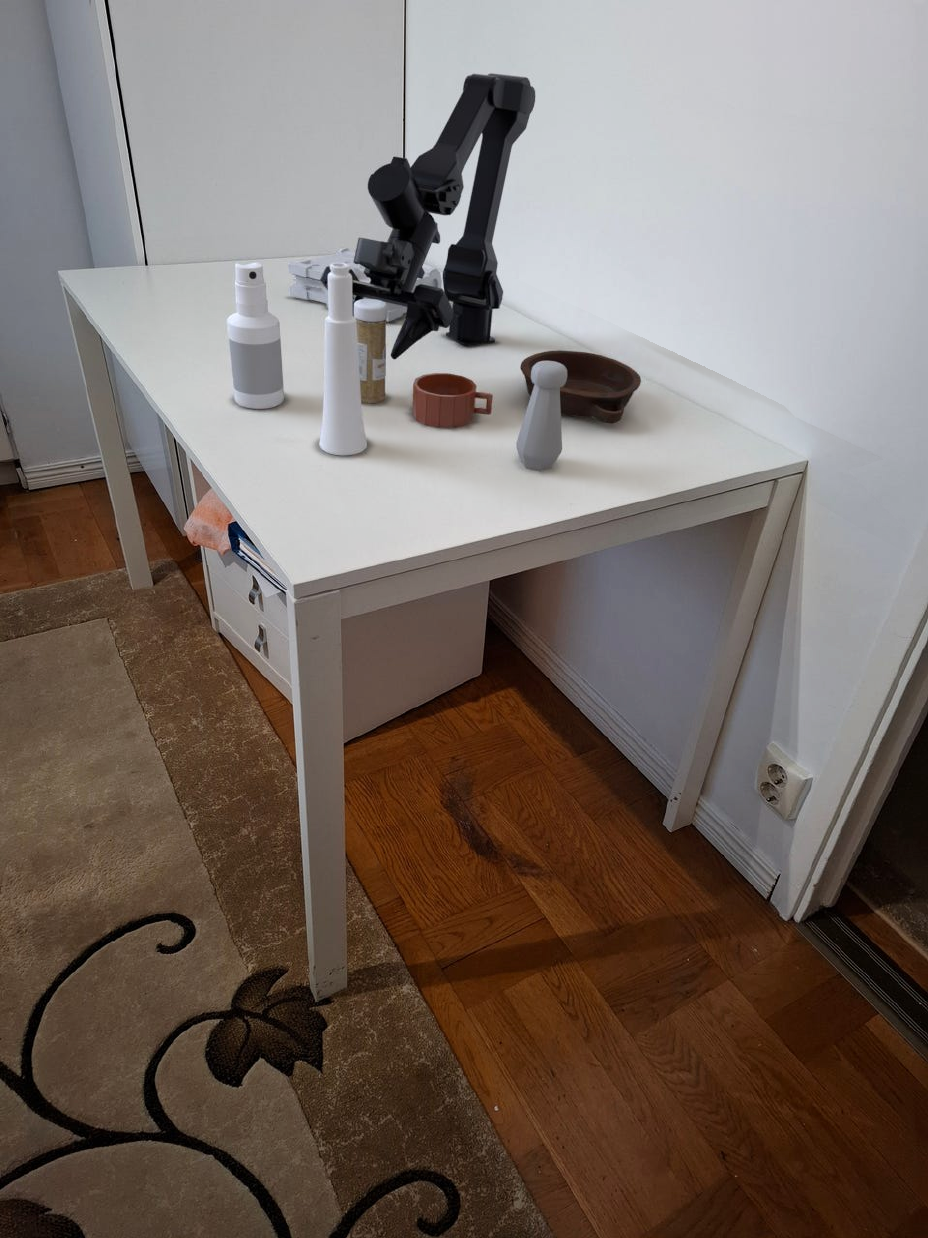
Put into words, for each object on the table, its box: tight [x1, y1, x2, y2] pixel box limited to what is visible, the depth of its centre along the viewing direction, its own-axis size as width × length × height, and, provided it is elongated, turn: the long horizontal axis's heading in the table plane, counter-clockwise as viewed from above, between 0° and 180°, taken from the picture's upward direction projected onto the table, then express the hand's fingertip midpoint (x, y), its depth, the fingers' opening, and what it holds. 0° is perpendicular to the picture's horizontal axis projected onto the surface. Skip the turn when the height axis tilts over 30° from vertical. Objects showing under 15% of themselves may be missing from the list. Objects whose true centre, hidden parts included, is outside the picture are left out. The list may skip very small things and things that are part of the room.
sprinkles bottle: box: [354, 299, 388, 404], centre depth 115 cm, size 5×5×13 cm
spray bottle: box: [226, 261, 285, 410], centre depth 110 cm, size 7×7×18 cm
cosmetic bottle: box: [318, 263, 368, 456], centre depth 99 cm, size 6×6×22 cm
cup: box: [411, 372, 494, 429], centre depth 114 cm, size 11×9×4 cm
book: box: [287, 246, 443, 322], centre depth 155 cm, size 19×28×8 cm
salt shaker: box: [515, 361, 567, 472], centre depth 102 cm, size 6×6×13 cm
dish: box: [519, 349, 642, 424], centre depth 122 cm, size 17×22×5 cm
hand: (363, 350), depth 113 cm, fingers open, 9 cm apart
